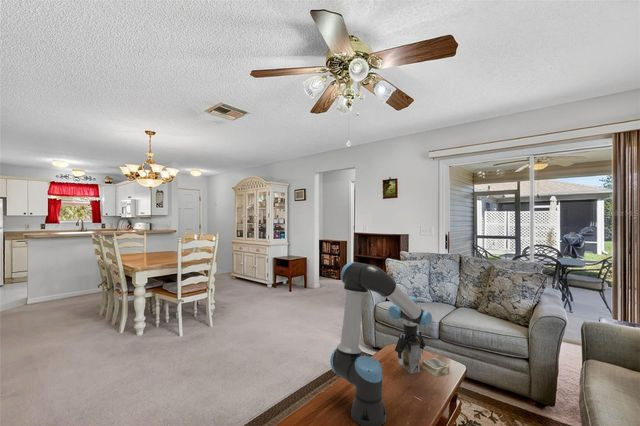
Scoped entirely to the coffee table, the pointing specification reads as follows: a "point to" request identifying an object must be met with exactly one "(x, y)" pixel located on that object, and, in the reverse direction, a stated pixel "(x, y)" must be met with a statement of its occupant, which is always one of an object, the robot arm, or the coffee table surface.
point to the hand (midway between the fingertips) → (410, 361)
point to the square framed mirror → (435, 367)
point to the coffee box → (411, 357)
